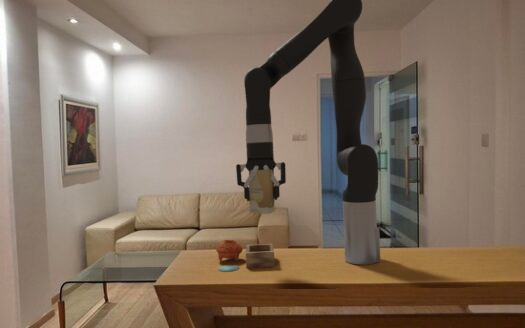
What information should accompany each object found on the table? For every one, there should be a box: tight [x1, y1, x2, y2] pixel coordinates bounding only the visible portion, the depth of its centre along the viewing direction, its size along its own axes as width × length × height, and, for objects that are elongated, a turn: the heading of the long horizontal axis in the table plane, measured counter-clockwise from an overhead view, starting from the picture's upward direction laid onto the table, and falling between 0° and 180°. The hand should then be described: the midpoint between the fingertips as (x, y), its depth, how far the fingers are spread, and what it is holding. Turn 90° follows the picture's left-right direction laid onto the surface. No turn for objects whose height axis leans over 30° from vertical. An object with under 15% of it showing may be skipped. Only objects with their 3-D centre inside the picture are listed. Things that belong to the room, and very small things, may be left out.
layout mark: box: [217, 264, 240, 273], centre depth 108 cm, size 6×6×1 cm
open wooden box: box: [245, 243, 276, 269], centre depth 113 cm, size 8×10×4 cm
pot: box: [215, 239, 243, 263], centre depth 117 cm, size 8×8×7 cm
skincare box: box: [248, 169, 275, 215], centre depth 108 cm, size 6×4×12 cm
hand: (262, 200), depth 108 cm, fingers closed on skincare box, 7 cm apart
